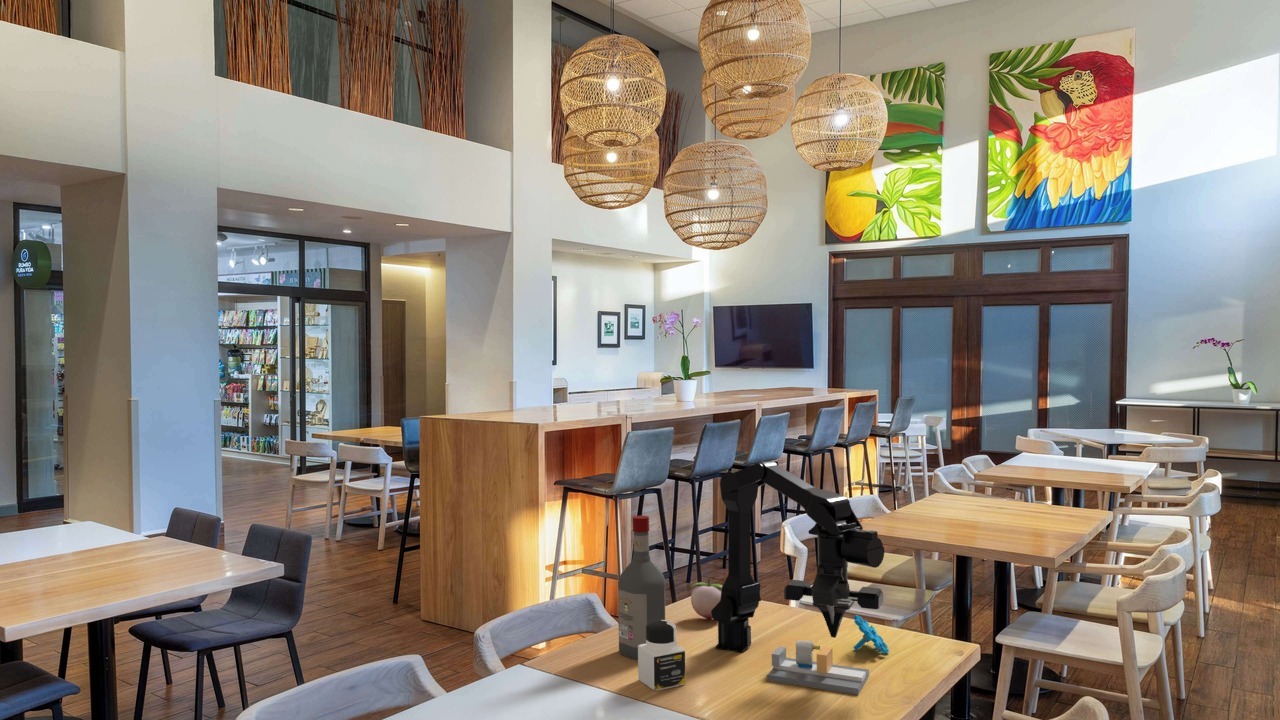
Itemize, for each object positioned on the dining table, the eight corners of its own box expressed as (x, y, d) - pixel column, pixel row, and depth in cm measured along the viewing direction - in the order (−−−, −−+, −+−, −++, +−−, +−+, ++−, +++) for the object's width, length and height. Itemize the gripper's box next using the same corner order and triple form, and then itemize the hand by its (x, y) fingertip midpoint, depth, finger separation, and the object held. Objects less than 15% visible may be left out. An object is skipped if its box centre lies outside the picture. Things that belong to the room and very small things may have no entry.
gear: (889, 653, 178) (855, 616, 182) (869, 671, 179) (835, 634, 183) (893, 644, 188) (861, 609, 192) (874, 661, 189) (842, 626, 193)
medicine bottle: (654, 692, 163) (653, 630, 163) (637, 679, 169) (636, 620, 170) (686, 685, 166) (685, 624, 167) (668, 673, 173) (667, 615, 173)
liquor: (640, 663, 179) (638, 522, 179) (613, 652, 186) (611, 517, 186) (671, 653, 185) (670, 517, 185) (644, 643, 192) (642, 511, 192)
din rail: (767, 680, 168) (767, 658, 168) (782, 662, 178) (782, 642, 178) (858, 694, 160) (858, 671, 160) (869, 675, 170) (868, 653, 170)
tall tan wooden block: (816, 672, 167) (816, 654, 167) (822, 664, 171) (822, 646, 171) (826, 673, 166) (826, 655, 166) (832, 665, 171) (832, 647, 171)
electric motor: (820, 673, 167) (819, 647, 167) (795, 671, 168) (795, 646, 168) (820, 661, 173) (820, 636, 173) (797, 659, 174) (796, 635, 174)
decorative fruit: (688, 624, 205) (688, 583, 205) (692, 614, 213) (691, 575, 213) (727, 626, 204) (726, 584, 204) (729, 616, 212) (728, 576, 212)
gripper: (775, 563, 165) (776, 643, 165) (872, 572, 157) (873, 656, 157) (791, 551, 175) (792, 626, 175) (883, 559, 167) (884, 638, 167)
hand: (833, 637), depth 168 cm, fingers closed
